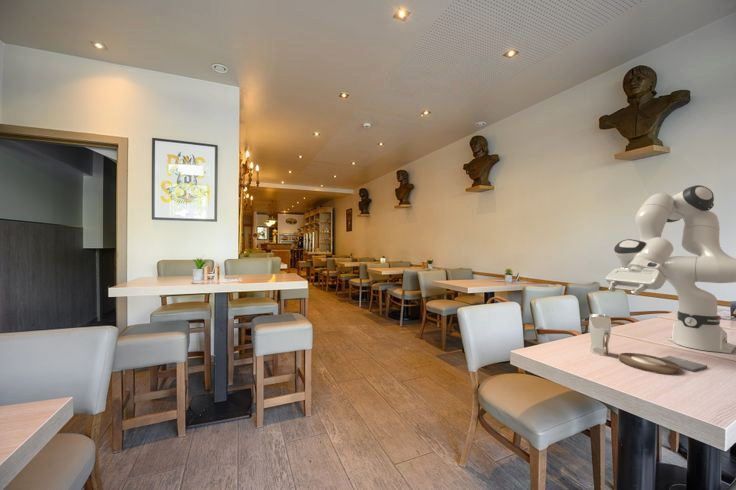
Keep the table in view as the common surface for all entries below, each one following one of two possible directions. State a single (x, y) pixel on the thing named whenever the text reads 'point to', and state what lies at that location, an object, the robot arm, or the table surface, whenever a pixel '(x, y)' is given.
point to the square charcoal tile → (686, 364)
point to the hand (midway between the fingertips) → (621, 292)
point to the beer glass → (600, 333)
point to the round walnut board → (649, 363)
